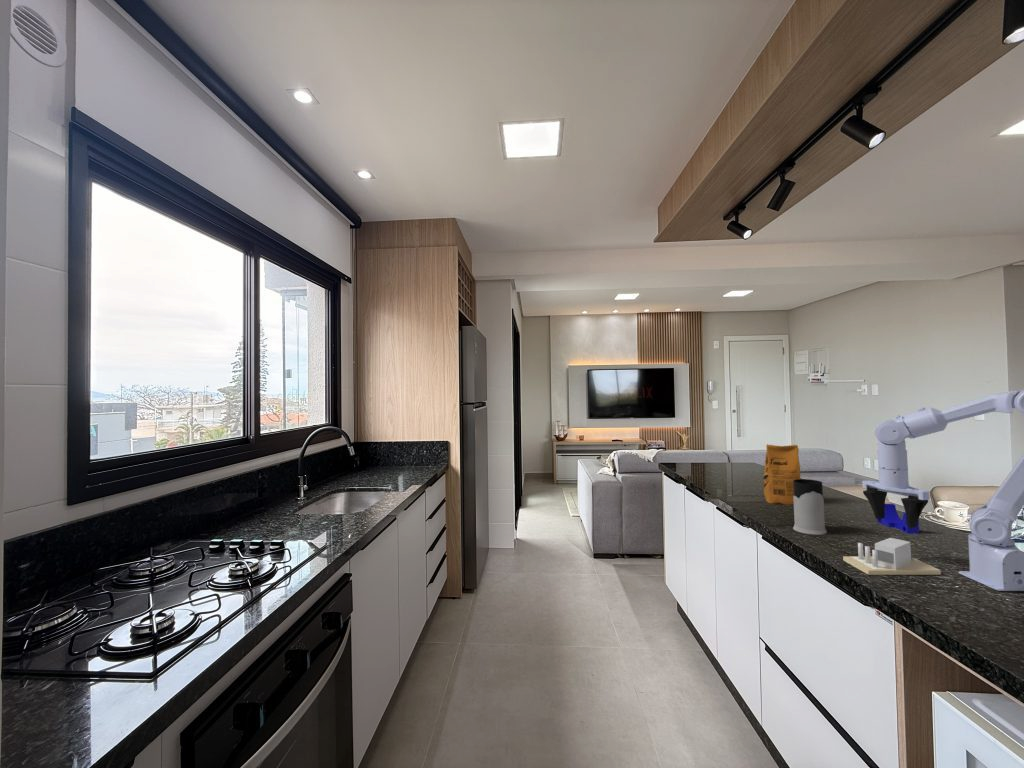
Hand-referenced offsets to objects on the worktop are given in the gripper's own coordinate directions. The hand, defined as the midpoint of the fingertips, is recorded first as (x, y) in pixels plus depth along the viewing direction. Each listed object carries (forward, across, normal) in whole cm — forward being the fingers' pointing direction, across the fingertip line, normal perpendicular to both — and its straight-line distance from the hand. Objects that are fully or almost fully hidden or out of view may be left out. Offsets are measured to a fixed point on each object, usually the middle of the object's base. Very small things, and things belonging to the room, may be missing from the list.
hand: (895, 522), depth 113 cm
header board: (+10, -2, +5) cm, 11 cm away
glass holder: (+10, +29, -3) cm, 31 cm away
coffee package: (+10, +57, -21) cm, 62 cm away
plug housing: (+9, -1, +1) cm, 9 cm away
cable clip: (+10, +21, -28) cm, 37 cm away
